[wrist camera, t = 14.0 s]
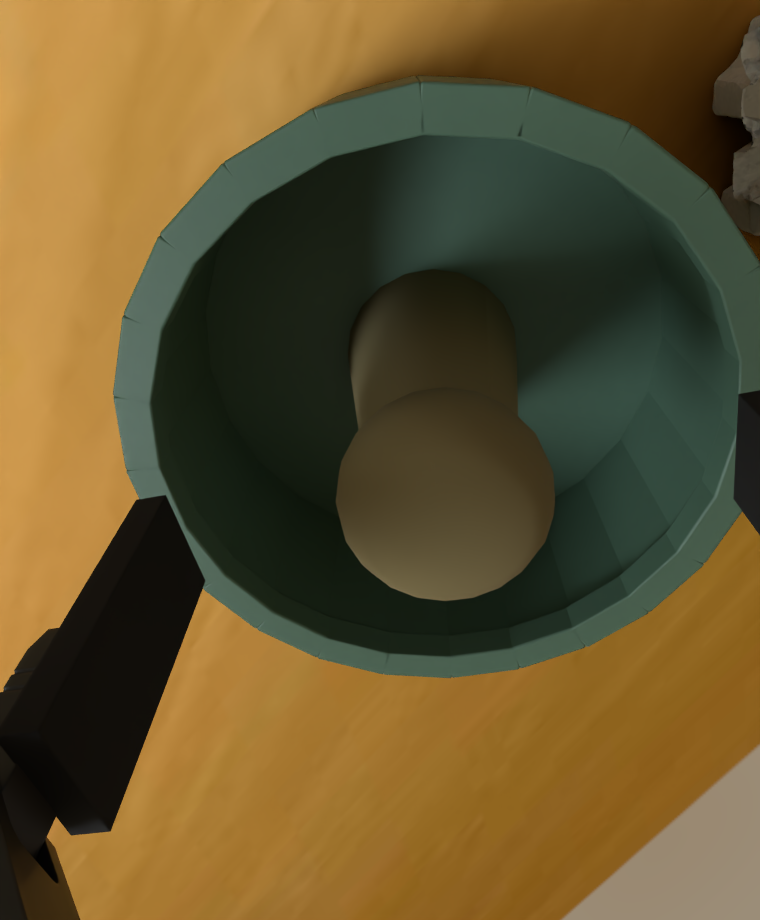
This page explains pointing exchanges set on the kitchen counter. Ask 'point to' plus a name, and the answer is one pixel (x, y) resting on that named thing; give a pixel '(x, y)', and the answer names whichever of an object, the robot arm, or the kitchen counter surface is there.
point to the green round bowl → (537, 346)
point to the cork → (440, 442)
